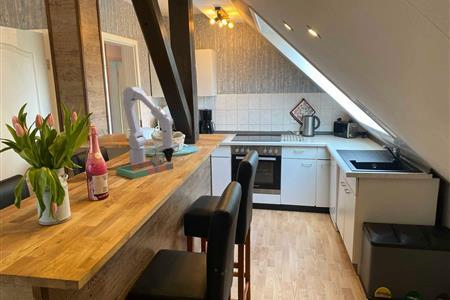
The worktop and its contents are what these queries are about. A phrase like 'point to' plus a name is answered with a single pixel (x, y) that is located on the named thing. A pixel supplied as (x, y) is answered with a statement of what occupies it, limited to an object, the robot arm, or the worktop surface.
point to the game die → (157, 160)
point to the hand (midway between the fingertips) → (168, 161)
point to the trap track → (128, 173)
